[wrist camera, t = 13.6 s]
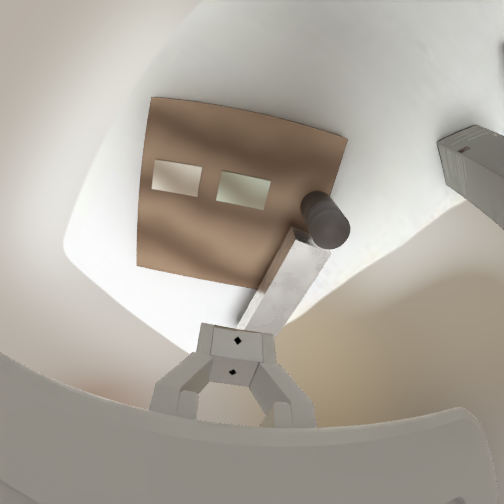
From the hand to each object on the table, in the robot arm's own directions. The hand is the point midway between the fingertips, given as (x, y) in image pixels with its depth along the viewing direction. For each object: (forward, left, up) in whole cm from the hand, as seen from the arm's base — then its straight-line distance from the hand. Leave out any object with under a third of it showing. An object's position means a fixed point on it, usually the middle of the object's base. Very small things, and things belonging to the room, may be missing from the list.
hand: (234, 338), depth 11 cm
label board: (+2, -1, -21) cm, 21 cm away
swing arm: (+12, +6, -18) cm, 22 cm away
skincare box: (-12, +26, -21) cm, 36 cm away
